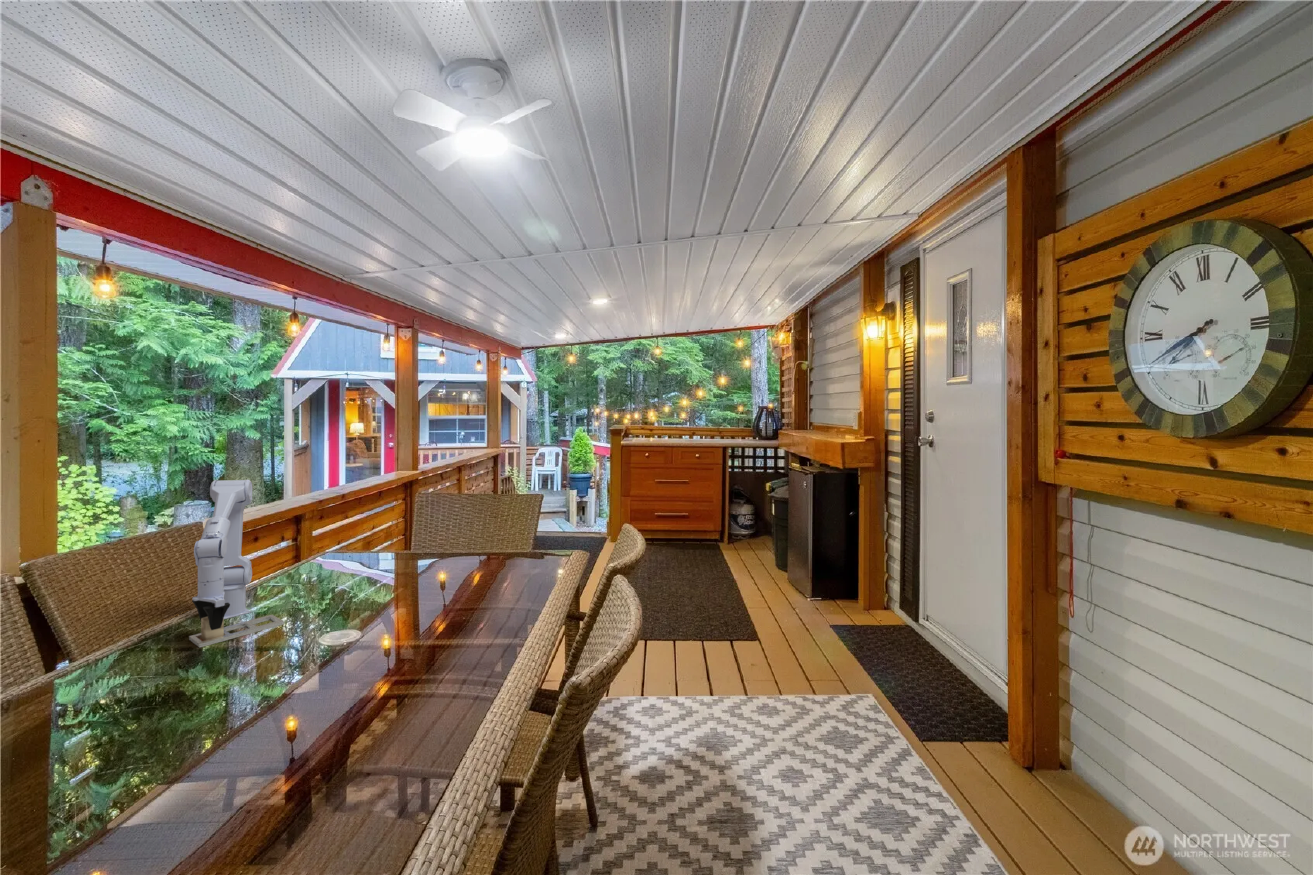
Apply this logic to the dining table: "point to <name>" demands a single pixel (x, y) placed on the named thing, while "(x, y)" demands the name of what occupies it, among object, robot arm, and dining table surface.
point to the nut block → (207, 632)
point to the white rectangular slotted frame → (252, 628)
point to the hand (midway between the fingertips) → (211, 625)
